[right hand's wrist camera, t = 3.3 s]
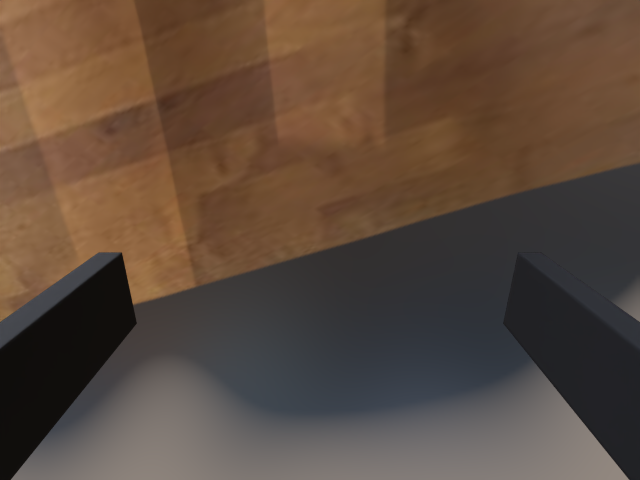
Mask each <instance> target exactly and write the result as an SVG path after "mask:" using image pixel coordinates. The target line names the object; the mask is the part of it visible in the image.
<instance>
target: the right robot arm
mask: <svg viewBox="0 0 640 480" xmlns="http://www.w3.org/2000/svg"><path fill="white" fill-rule="evenodd" d="M136 324H137V322H136V318H135V313H134V308H133V303H132V299H131V294H130V289H129V284H128V279H127V275H126V270H125V265H124V260H123V256H122V253H97V254H96V255H95V256H93V257H92V258H90V259H89V260H88V261H86V262H85V263H83V264H82V265H80V266H79V267H78V268H76V269H75V270H73V271H72V272H71V273H69V274H68V275H66V276H65V277H63V278H62V279H61V280H59V281H58V282H56V283H55V284H54V285H52V286H51V287H49V288H48V289H46V290H45V291H44V292H42V293H41V294H39V295H38V296H37V297H35V298H34V299H32V300H31V301H29V302H28V303H27V304H25V305H24V306H22V307H21V308H20V309H18V310H17V311H15V312H14V313H13V314H11V315H10V316H8V317H7V318H5V319H4V320H3V321H1V322H0V480H11V479H12V477H13V476H14V475H15V474H16V472H17V471H18V470H19V469H20V467H21V466H22V465H23V464H24V463H25V461H26V460H27V459H28V458H29V456H30V455H31V454H32V453H33V451H34V450H35V449H36V448H37V446H38V445H39V444H40V443H41V441H42V440H43V439H44V438H45V436H46V435H47V434H48V433H49V431H50V430H51V429H52V428H53V427H54V425H55V424H56V423H57V422H58V420H59V419H60V418H61V417H62V415H63V414H64V413H65V412H66V410H67V409H68V408H69V407H70V406H71V404H72V403H73V402H74V400H75V399H76V398H77V397H78V395H79V394H80V393H81V392H82V391H83V389H84V388H85V387H86V386H87V384H88V383H89V382H90V381H91V379H92V378H93V377H94V376H95V375H96V373H97V372H98V371H99V370H100V368H101V367H102V366H103V365H104V363H105V362H106V361H107V360H108V358H109V357H110V356H111V355H112V353H113V352H114V351H115V350H116V348H117V347H118V346H119V345H120V344H121V342H122V341H123V340H124V339H125V337H126V336H127V335H128V334H129V332H130V331H131V330H132V329H133V327H134V326H135V325H136ZM503 324H504V325H505V326H506V327H507V329H508V330H509V331H510V332H511V334H512V335H513V336H514V337H515V339H516V340H517V341H518V342H519V344H520V345H521V346H522V347H523V348H524V350H525V351H526V352H527V353H528V355H529V356H530V357H531V358H532V360H533V361H534V362H535V363H536V364H537V366H538V367H539V368H540V370H541V371H542V372H543V373H544V374H545V376H546V377H547V378H548V379H549V381H550V382H551V383H552V384H553V386H554V387H555V388H556V389H557V391H558V392H559V393H560V394H561V396H562V397H563V398H564V399H565V401H566V402H567V403H568V404H569V406H570V407H571V408H572V409H573V410H574V412H575V413H576V414H577V415H578V417H579V418H580V419H581V420H582V422H583V423H584V424H585V425H586V427H587V428H588V429H589V430H590V432H591V433H592V434H593V435H594V436H595V438H596V439H597V440H598V441H599V443H600V444H601V445H602V446H603V448H604V449H605V450H606V451H607V453H608V454H609V455H610V456H611V458H612V459H613V460H614V461H615V462H616V464H617V465H618V466H619V467H620V469H621V470H622V471H623V472H624V474H625V475H626V476H627V477H628V479H629V480H640V322H639V321H637V320H636V319H635V318H633V317H632V316H630V315H629V314H627V313H626V312H625V311H623V310H622V309H620V308H619V307H618V306H616V305H615V304H613V303H612V302H611V301H609V300H608V299H606V298H605V297H603V296H602V295H601V294H599V293H598V292H596V291H595V290H593V289H592V288H591V287H589V286H588V285H586V284H585V283H584V282H582V281H581V280H579V279H578V278H577V277H575V276H574V275H572V274H571V273H569V272H568V271H567V270H565V269H564V268H562V267H561V266H560V265H558V264H557V263H555V262H554V261H552V260H551V259H550V258H548V257H547V256H545V255H544V254H543V253H518V256H517V260H516V265H515V270H514V275H513V280H512V284H511V289H510V294H509V299H508V303H507V308H506V313H505V318H504V323H503Z"/></svg>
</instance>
